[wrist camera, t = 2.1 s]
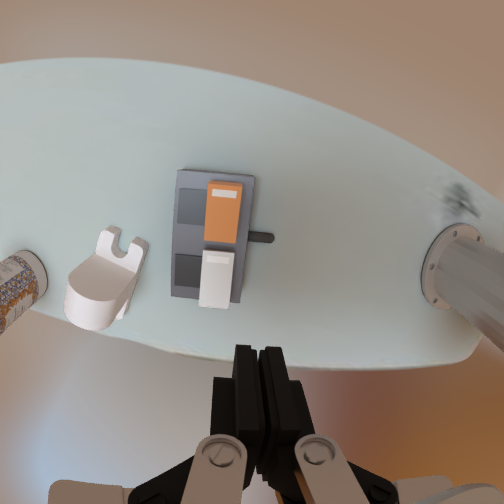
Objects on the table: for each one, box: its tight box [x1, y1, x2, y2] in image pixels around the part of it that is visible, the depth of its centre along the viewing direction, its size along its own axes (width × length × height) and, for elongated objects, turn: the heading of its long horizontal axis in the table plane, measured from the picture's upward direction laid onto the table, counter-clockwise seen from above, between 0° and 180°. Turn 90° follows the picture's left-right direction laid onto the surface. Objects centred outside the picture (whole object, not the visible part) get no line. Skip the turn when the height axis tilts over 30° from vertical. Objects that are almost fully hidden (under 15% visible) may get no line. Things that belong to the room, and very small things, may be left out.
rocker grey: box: [199, 249, 234, 309], centre depth 27 cm, size 3×5×1 cm, turn 173°
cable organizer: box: [64, 226, 148, 330], centre depth 26 cm, size 5×10×10 cm, turn 154°
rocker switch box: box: [171, 169, 274, 303], centre depth 28 cm, size 10×12×4 cm
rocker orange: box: [204, 180, 242, 243], centre depth 25 cm, size 3×5×1 cm, turn 173°
